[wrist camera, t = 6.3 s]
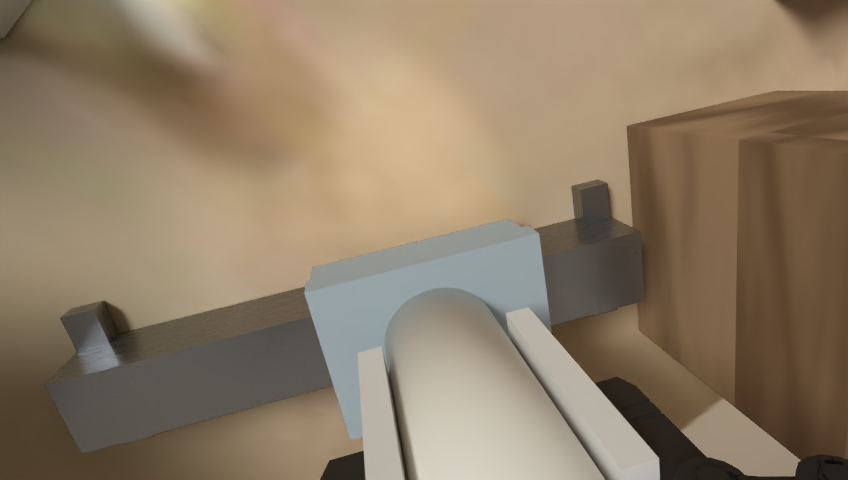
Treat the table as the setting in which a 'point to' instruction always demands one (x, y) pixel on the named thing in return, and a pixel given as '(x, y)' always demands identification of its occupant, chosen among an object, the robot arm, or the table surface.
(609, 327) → the table surface
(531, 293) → the carriage
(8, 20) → the flask
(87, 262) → the table surface
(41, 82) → the table surface
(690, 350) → the wooden button housing
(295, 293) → the rail
